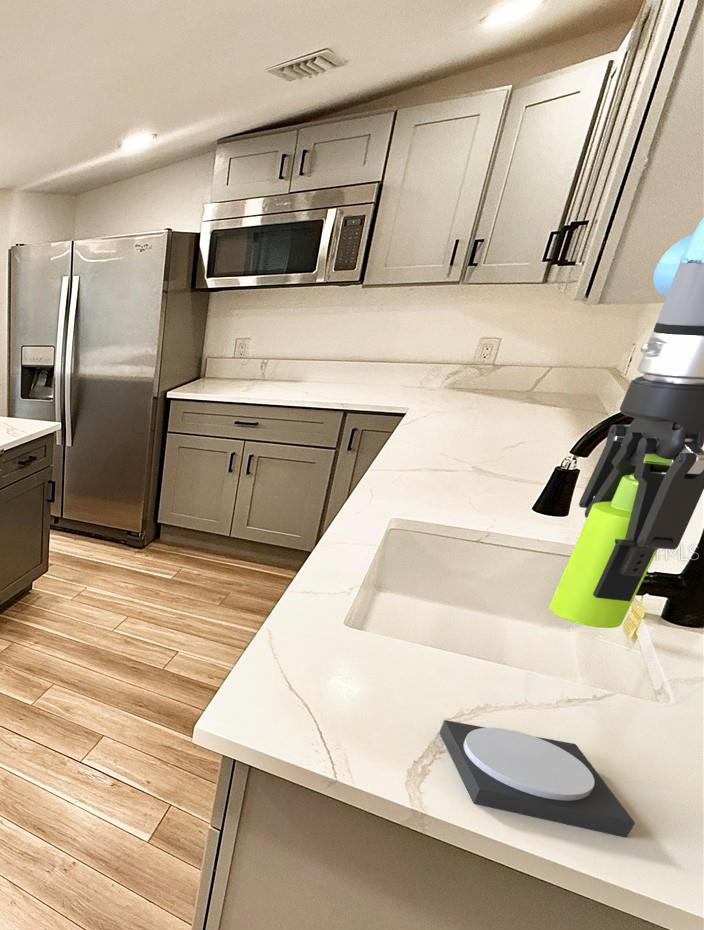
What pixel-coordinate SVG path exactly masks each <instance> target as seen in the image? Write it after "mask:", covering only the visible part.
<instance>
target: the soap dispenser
mask: <svg viewBox="0 0 704 930" xmlns="http://www.w3.org/2000/svg"><path fill="white" fill-rule="evenodd" d="M671 460H674V457H672V458H671V459H664V458H661V457H658V456H657V455H656V454H655V453H654V454H646V455H645V457H644V461H643V463H650V464H659V465H669V462H670V461H671ZM651 473H654V474H663V473H660V472H651ZM638 484H639V482H638V481H637V480H636V479H635V478H634V474H631V475H626V476H623V477H622V479H621V481H620V483H619V486H618V488H617V490H616V493H615V495H614V497H613V499H612V502H598V503H595V504H593V505H592V507H591V510H590V512H589V514H588V517H587V518H586V520H585V522H584V524H583V526H582V528H581V531H580V533H579V536H578V538H577V540H576V543H575V545H574V547H573V550H572V552H571V554H570V557H569V559H568V561H567V564H566V566H565V569H564V570H563V571H564V572H563V573H562V576H561V578H560V580H559V583H558V585H557V587H556V590H555V592H554V594H553V597H552V599H551V602H550V604H549V607H548V608H549V610H550V612H551V613H553V614H554V615H556V616H557V617H560V618H561V619H564V620H566V621H569V622H573V623H575V624H577V625H578V624H579V625H582V626H587V627H592V628H601V629H614V628H619V627H620V626H622V624H623V622H624V620H625V618H626V617H627V614H628V611H629V610H630V607H631V606H632V604H633V602H634V599H635V597H636V595H637V594H638V592H639V589H640V587H641V585H642V583H643V581H644V579H645V577H646V575H647V573H648V571H649V568H650V567H651V564H652V563H653V560H654V558H655V557H656V554H657V553H658V550H659V549H657V550H655V551H654V553H653V555H652V557H651V559H650V562H649V564H648V566H647V568H646V570H645V572H644V574H643V576H642V578H641V580H640V582H639V584H638V586H637V588H636V590H635V592H634V594H633V596H632V598H631V600H630V601H621V600H612V599H603V598H596V597H595V596H594V595H593V593H594V591H595V589H596V586H597V584H598V582H599V580H600V578H601V575H602V573H603V571H604V569H605V567H606V565H607V562H608V560H609V558H610V556H611V554H612V551H613V549H614V547H615V545H616V544H615V539H622V540H625V537H626V533H627V529H628V525H629V521H630V517H631V513H632V508H633V504H634V500H635V496H636V492H637V488H638Z"/></svg>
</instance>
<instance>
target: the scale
mask: <svg viewBox="0 0 704 930" xmlns="http://www.w3.org/2000/svg"><path fill="white" fill-rule="evenodd" d="M439 736H440V738H441V740H442V741H443V743H444V746H445V747H446V750H447V752H448V755H449V756H450V759H451V760H452V762H453V764H454V766H455V769H456V770H457V772H458V774H459V777H460V779H461V780H462V783H463V785H464V787H465V789H466V791H467V793H468V795H469V797H470V799H471V802H472V803H473V804H475V805H478V806H482V807H483V806H484V807H487V808H492V809H497V810H501V811H506V812H510V813H516V814H519V815H524V816H528V817H532V818H537V819H542V820H546V821H551V822H555V823H559V824H565V825H568V826H573V827H577V828H581V829H586V830H591V831H596V832H599V833H603V834H604V833H605V834H608V835H614V836H616V837H617V836H618V837H623V838H628V836H629V834H630V833H631V831H632V829H633V827H634V826H635V825H636V822H635V820H634V819H633V818H632V817H631V815H630V814H629V813H628V811H627V810H626V809H625V807H624V806H623V805H622V803H621V802H620V800H618V798H617V797H616V795H615V794H614V793H613V791H612V790H611V789H610V787H609V786H608V785H607V783H606V782H605V781H604V780H603V778H602V777H601V776H600V774H599V773H598V772H597V770H596V769H595V768H594V767H593V765H592V764H591V762H590V761H589V760H588V758H587V757H586V755H584V753H583V752H582V750H581V749H580V747H579V746H578V745H577V744H576V743H572V742H566V741H561V740H556V739H551V738H544V737H539V736H534V735H531V734H527V733H525V732H522V731H521V732H520V731H517V730H513V729H507V728H503V727H502V728H500V727H485V726H479V725H473V724H469V723H464V722H457V721H452V720H447V719H444V720H443V722H442V725H441V728H440V729H439Z"/></svg>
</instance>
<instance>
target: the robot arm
mask: <svg viewBox="0 0 704 930" xmlns="http://www.w3.org/2000/svg"><path fill="white" fill-rule="evenodd" d="M653 284H654V287H655V289H656V291H657V292H658V293H659V294H660V295H661V296H663V297H664V298H665V300H664V302H663V305H662V307H661V309H660V312H659V315H658V317H657V320H656V323H655V325H654V328H653V331H652V333H651V335H650V337H649V339H648V342H647V343H643V344H642V345H641V347H640V352H641V353H642V356H641V359H640V361H639V363H638V366H637V369H636V370H637V371H638V373H640V374H643V375H641V376H637V377H635V379H631V381H630V383H629V386H628V388H627V390H626V392H625V394H624V397H623V400H622V402H621V404H620V407H619V411H620V413H621V414H622V415H624V416H626V417H630V418H632V419H633V420H632V421H631V423H630V424H612V425H610V427H609V429H608V433H607V436H606V437H607V438H606V441H605V445H604V447H603V450H602V452H601V454H600V456H599V459H598V461H597V462H596V465H595V466H594V469H593V472H592V474H591V476H590V478H589V480H588V482H587V484H586V487H585V488H584V491H583V493H582V495H581V498H580V500H579V502H578V506H579V508H580V509H581V508H582V509H585V510H584V518H586V519H587V517H588V514H589V512H590V510H591V507H592V505H593V504H595V503H598V502H612V499H613V497H614V495H615V493H616V490H617V488H618V486H619V483H620V481H621V479H622V477H623V476H626V475H631V474H634V478H635V479H636V480H637V481H638V482H639V484H638V488H637V492H636V496H635V500H634V504H633V508H632V513H631V517H630V521H629V525H628V529H627V533H626V537H625V540H622V539H615V544H616V545H615V547H614V549H613V551H612V554H611V556H610V558H609V560H608V562H607V565H606V567H605V569H604V571H603V573H602V575H601V578H600V580H599V582H598V584H597V586H596V589H595V591H594V593H593V595H594V596H595V597H596V598H603V599H612V600H621V601H630V600H631V598H632V596H633V594H634V592H635V590H636V588H637V586H638V584H639V582H640V580H641V578H642V576H643V574H644V572H645V570H646V568H647V566H648V564H649V562H650V559H651V557H652V555H653V553H654V551H655V550H657V549H658V550H659V549H660V550H672V551H673V550H676V549H677V548H678V547H679V546H680V543H681V541H682V539H683V537H684V535H685V532H686V530H687V528H688V525H689V524H690V521H691V519H692V518H693V514H694V512H695V510H696V507H697V506H698V504H699V502H700V499H701V497H702V495H703V492H704V449H703V447H704V216H703V217H702V219H701V220H700V222H699V224H698V225H697V227H696V229H695V230H694V232H693V233H692V234H690V235H687V236H686V237H685V236H684V237H683V238H681V239H680V240H679V241H677V242H676V243H674V244H673V245H672V246H670V248H668V249H667V250H666V251H665V253H664V254H663V255H662V257H661V258H660V259H659V261H658V262H657V265H656V267H655V269H654V272H653ZM654 453H655V454H656V455H657V456H658V457H661V458H664V459H671V458H672V457H674V460H671V461H670V462H669V465H659V464H650V463H643V461H644V457H645V455H646V454H654ZM651 472H660V473H662V474H654V473H651ZM658 550H657V551H658Z"/></svg>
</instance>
